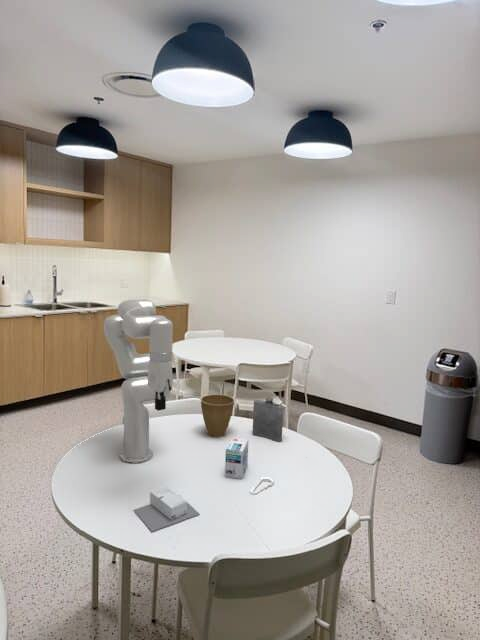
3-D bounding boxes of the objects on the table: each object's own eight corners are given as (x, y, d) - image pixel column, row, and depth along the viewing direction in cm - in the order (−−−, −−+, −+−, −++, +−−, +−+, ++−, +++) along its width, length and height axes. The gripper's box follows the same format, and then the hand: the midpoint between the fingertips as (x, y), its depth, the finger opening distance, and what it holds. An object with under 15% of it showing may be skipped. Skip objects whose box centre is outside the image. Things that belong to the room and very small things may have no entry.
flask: (255, 432, 204) (257, 394, 201) (283, 440, 197) (285, 400, 194) (251, 434, 201) (252, 396, 198) (279, 442, 194) (282, 402, 191)
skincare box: (165, 484, 146) (187, 499, 138) (165, 497, 147) (187, 512, 138) (148, 491, 142) (171, 506, 134) (149, 504, 143) (171, 520, 134)
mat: (133, 510, 139) (133, 509, 139) (179, 495, 149) (179, 494, 149) (151, 532, 129) (151, 531, 129) (199, 515, 138) (199, 513, 138)
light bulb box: (242, 479, 161) (243, 451, 159) (224, 477, 162) (225, 449, 161) (247, 466, 171) (249, 439, 170) (230, 463, 173) (231, 437, 171)
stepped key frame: (262, 500, 150) (262, 495, 150) (248, 496, 152) (248, 491, 152) (276, 481, 161) (276, 477, 161) (263, 477, 164) (263, 473, 163)
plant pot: (232, 441, 193) (234, 405, 191) (198, 439, 193) (199, 404, 191) (233, 427, 208) (234, 394, 206) (201, 426, 208) (202, 393, 206)
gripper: (140, 353, 153) (140, 404, 155) (160, 362, 141) (160, 418, 144) (160, 350, 157) (160, 401, 160) (181, 359, 145) (180, 414, 148)
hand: (160, 409), depth 152 cm, fingers closed
